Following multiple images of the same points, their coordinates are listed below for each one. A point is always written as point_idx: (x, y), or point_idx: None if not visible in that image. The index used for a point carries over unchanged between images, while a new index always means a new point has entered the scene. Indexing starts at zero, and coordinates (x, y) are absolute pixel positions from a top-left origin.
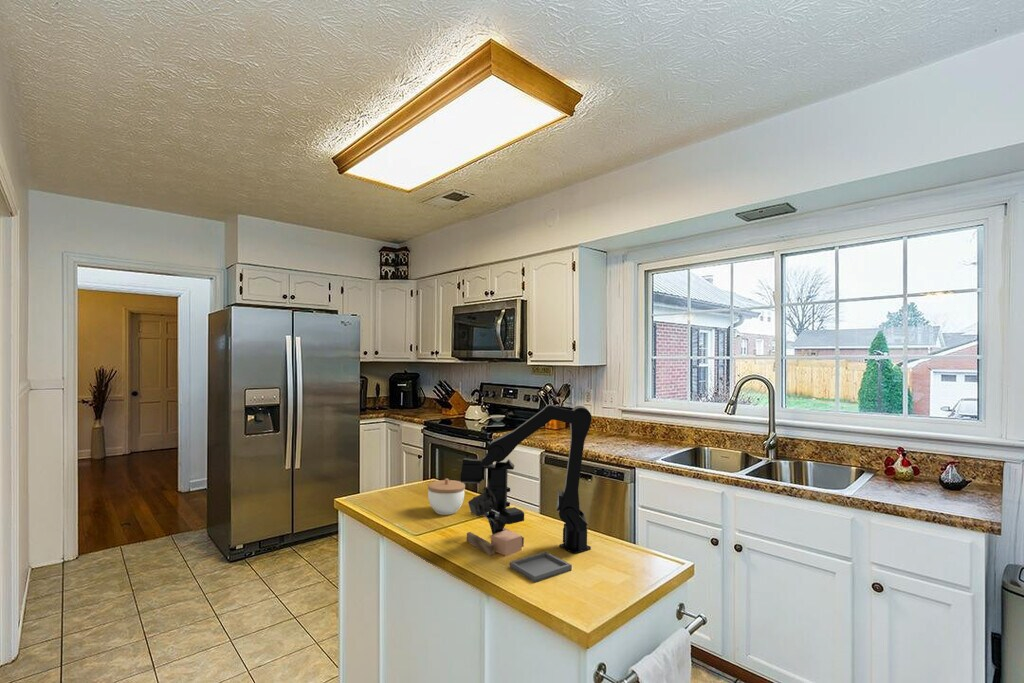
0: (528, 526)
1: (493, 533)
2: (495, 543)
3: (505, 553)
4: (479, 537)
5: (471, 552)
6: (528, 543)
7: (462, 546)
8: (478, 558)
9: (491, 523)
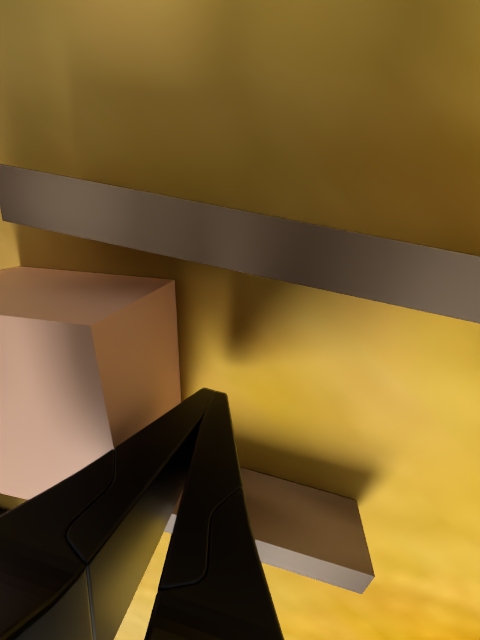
0: (283, 629)
1: (204, 422)
2: (78, 292)
3: (6, 269)
4: (292, 273)
5: (242, 75)
6: None
7: (448, 116)
8: (78, 19)
9: (170, 548)
